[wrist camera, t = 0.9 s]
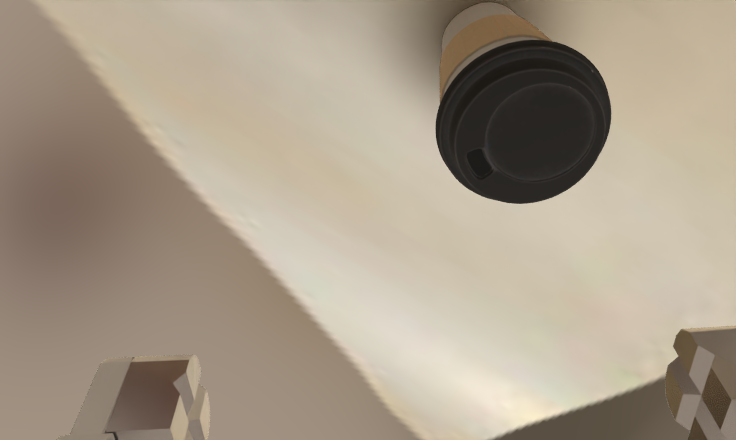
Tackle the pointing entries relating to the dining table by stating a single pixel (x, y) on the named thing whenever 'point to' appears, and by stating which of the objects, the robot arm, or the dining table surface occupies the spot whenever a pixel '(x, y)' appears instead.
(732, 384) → the robot arm
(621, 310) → the dining table surface
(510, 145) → the coffee cup
